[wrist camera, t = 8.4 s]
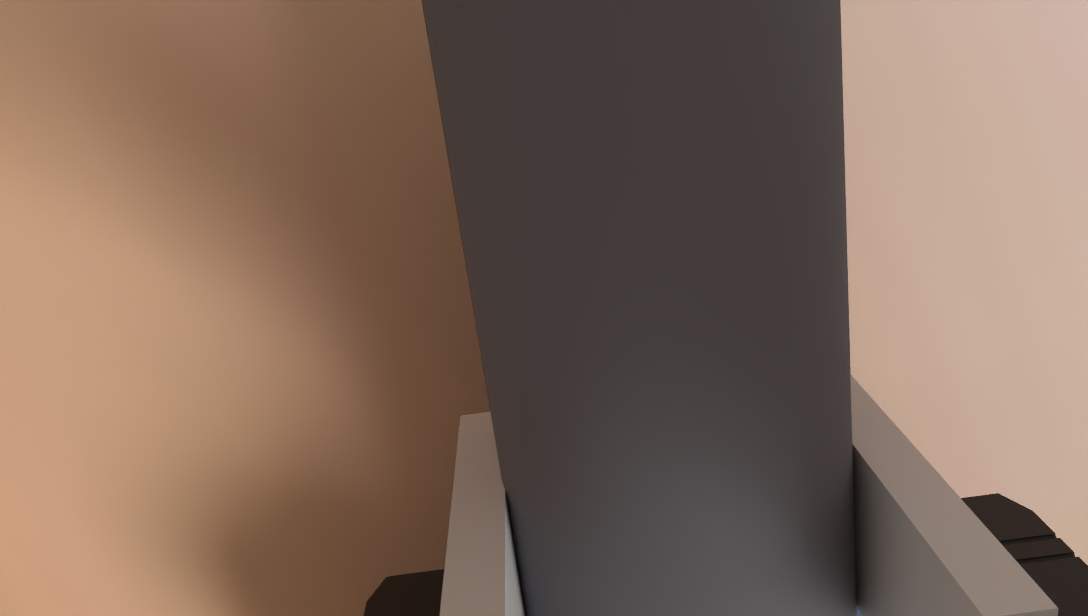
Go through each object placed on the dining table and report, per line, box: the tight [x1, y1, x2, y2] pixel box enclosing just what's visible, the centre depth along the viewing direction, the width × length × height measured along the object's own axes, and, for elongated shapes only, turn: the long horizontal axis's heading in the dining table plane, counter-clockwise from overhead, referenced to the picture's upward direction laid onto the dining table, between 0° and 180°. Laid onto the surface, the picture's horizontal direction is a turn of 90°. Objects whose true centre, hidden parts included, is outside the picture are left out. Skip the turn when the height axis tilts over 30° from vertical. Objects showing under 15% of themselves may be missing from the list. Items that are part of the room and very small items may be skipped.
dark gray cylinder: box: [422, 0, 857, 616], centre depth 14 cm, size 5×17×5 cm, turn 8°
